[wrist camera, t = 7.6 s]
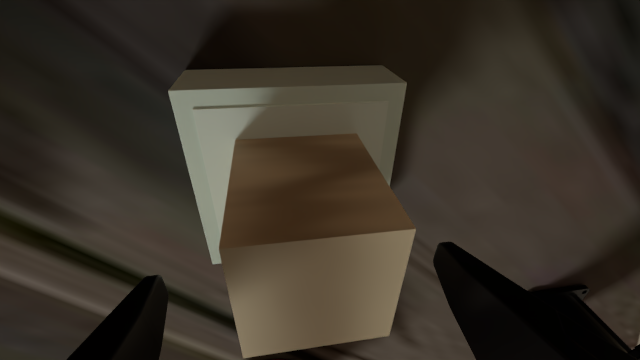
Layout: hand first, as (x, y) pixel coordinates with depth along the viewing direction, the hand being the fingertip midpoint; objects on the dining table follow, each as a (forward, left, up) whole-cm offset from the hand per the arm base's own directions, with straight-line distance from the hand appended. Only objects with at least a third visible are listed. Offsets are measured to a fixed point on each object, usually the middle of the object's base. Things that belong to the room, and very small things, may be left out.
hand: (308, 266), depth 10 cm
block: (0, 0, -5) cm, 5 cm away
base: (0, 0, -8) cm, 8 cm away
